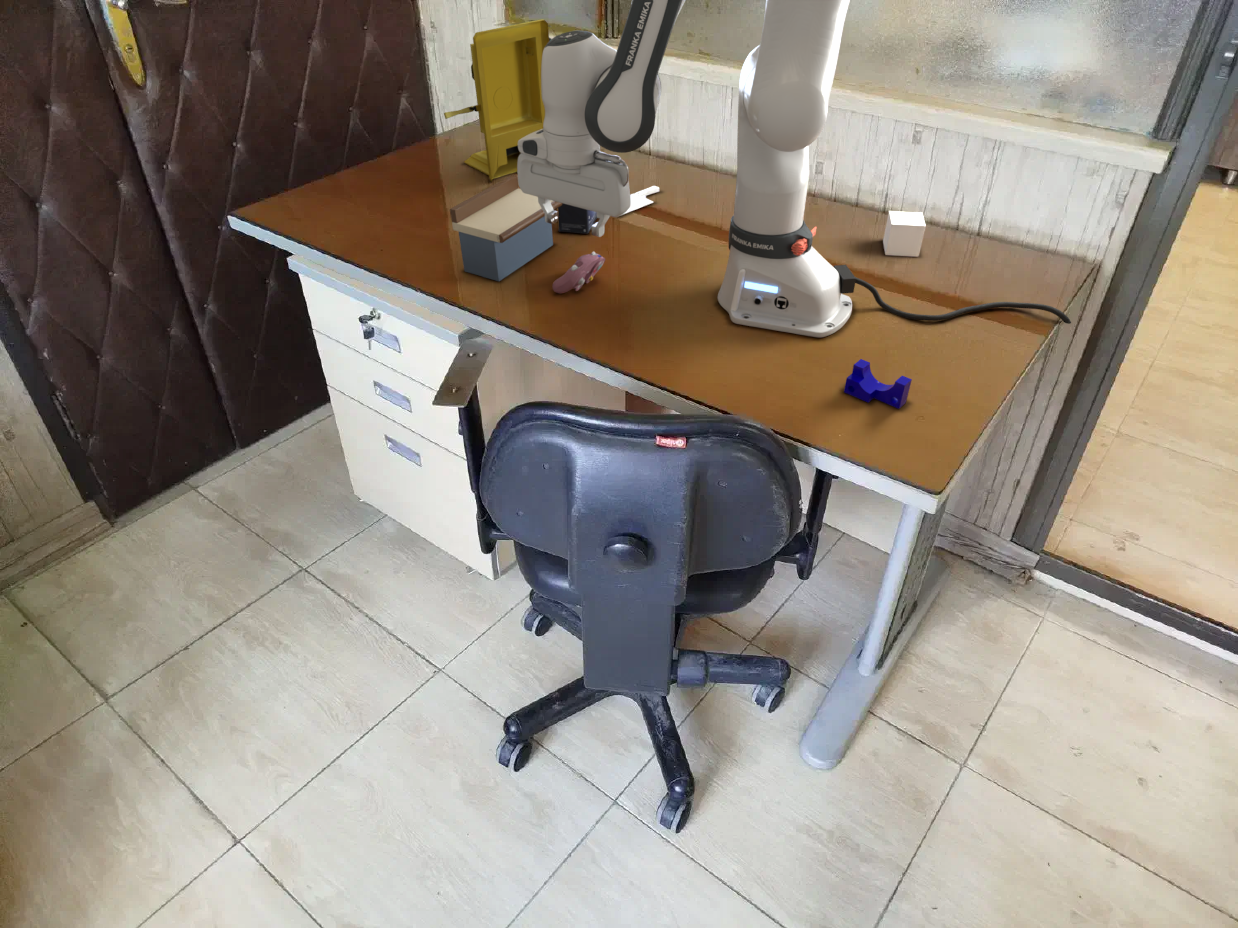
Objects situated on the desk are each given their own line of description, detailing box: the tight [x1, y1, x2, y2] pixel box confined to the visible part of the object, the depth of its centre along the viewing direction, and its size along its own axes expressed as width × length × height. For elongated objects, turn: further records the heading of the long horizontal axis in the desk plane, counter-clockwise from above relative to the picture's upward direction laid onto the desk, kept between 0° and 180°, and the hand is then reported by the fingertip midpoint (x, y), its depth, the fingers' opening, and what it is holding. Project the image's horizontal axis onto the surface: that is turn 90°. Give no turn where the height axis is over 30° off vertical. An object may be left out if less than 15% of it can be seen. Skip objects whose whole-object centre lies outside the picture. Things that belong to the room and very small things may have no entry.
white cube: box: [882, 210, 927, 258], centre depth 154 cm, size 6×6×6 cm
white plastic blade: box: [619, 185, 660, 217], centre depth 173 cm, size 5×15×1 cm, turn 132°
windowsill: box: [449, 174, 563, 282], centre depth 151 cm, size 11×18×12 cm, turn 149°
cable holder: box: [843, 358, 913, 410], centre depth 118 cm, size 8×4×4 cm, turn 48°
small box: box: [557, 203, 598, 235], centre depth 163 cm, size 11×6×10 cm, turn 168°
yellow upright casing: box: [443, 18, 557, 183], centre depth 183 cm, size 31×14×30 cm, turn 130°
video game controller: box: [552, 250, 606, 294], centre depth 144 cm, size 10×5×7 cm, turn 148°
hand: (574, 228), depth 140 cm, fingers open, 8 cm apart
